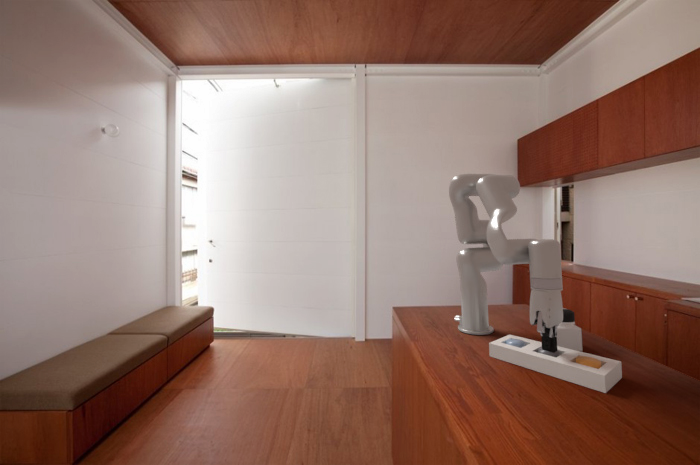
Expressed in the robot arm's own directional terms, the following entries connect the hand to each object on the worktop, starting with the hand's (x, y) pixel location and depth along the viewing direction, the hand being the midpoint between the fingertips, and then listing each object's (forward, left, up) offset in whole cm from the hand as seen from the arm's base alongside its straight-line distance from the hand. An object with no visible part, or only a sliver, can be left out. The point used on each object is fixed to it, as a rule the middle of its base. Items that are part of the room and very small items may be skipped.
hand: (549, 350), depth 84 cm
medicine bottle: (-3, +18, -5) cm, 19 cm away
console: (0, 0, -4) cm, 4 cm away
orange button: (+9, 0, -3) cm, 9 cm away
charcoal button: (0, 0, -3) cm, 4 cm away
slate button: (-9, 0, -3) cm, 10 cm away
